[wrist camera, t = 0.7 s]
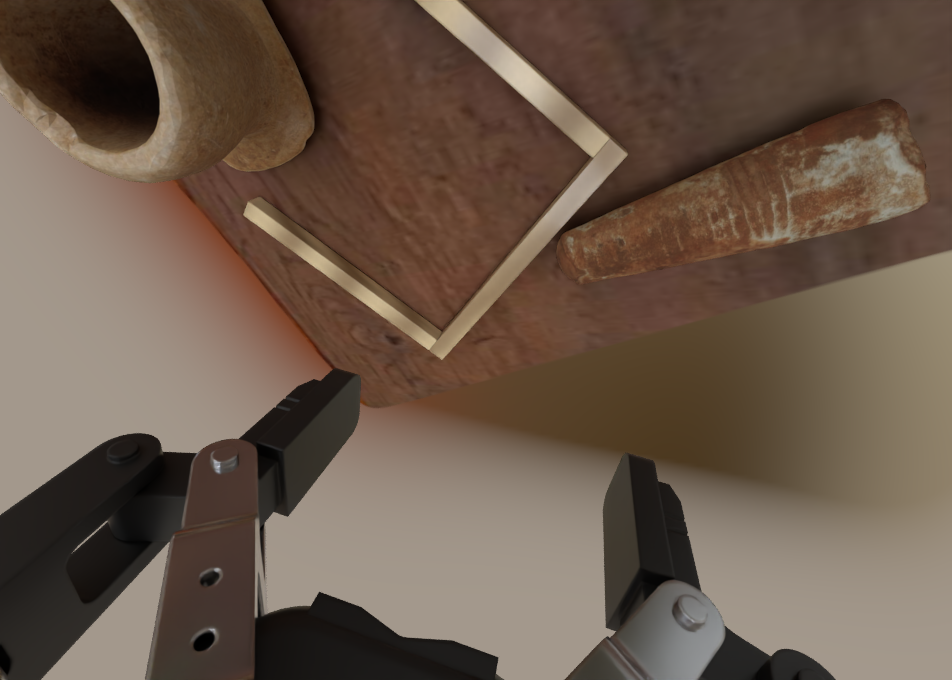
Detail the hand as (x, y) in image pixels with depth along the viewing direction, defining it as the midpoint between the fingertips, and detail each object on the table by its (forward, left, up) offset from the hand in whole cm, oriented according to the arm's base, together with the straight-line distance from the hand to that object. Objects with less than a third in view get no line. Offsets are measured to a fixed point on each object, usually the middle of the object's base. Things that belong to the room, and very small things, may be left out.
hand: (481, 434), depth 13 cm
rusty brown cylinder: (-2, +10, -23) cm, 25 cm away
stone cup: (-8, -23, -23) cm, 33 cm away
